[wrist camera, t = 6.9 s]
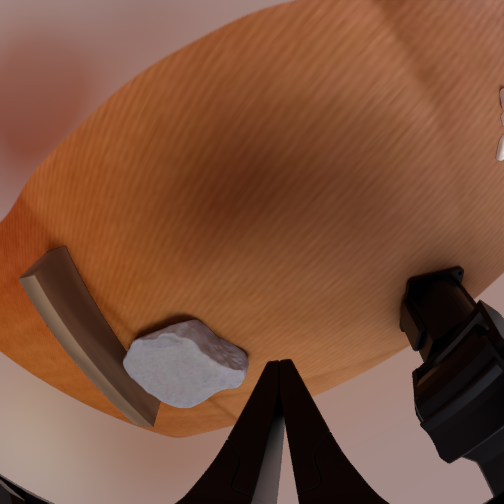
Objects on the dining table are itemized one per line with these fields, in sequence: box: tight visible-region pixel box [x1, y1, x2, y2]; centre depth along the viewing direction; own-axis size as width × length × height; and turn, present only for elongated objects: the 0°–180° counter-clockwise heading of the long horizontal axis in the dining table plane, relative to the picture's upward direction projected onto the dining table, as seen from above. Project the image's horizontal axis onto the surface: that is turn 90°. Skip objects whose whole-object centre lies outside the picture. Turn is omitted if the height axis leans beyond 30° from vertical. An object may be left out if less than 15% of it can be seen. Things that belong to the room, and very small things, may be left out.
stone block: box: [123, 319, 249, 408], centre depth 26 cm, size 12×5×10 cm
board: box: [19, 246, 161, 427], centre depth 25 cm, size 3×24×5 cm, turn 12°
